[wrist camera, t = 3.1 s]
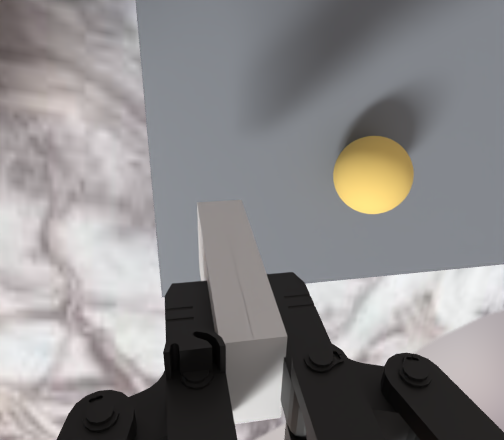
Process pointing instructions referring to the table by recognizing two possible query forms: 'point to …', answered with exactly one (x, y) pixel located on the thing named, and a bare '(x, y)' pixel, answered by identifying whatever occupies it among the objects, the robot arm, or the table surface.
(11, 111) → the table surface
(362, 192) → the ball
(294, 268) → the grey flat block
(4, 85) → the table surface
